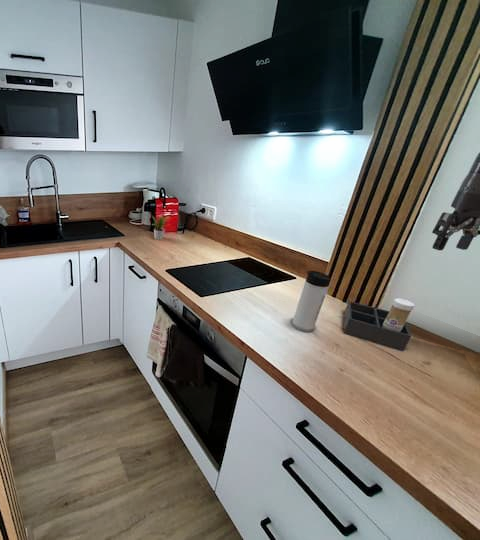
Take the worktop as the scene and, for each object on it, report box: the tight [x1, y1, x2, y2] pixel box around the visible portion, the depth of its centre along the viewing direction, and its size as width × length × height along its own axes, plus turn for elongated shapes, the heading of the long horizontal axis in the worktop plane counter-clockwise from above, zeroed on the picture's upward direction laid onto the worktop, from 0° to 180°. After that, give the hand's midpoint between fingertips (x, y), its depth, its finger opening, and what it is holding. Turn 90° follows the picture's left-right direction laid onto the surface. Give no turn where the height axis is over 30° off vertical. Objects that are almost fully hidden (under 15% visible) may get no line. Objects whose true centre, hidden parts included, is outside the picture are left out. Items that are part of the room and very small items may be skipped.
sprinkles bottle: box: [382, 297, 415, 332], centre depth 88 cm, size 5×5×13 cm
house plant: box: [151, 214, 170, 241], centre depth 180 cm, size 14×14×16 cm
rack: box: [342, 300, 412, 352], centre depth 94 cm, size 15×15×6 cm
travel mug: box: [291, 270, 332, 333], centre depth 93 cm, size 6×7×20 cm
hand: (449, 249), depth 82 cm, fingers open, 8 cm apart
